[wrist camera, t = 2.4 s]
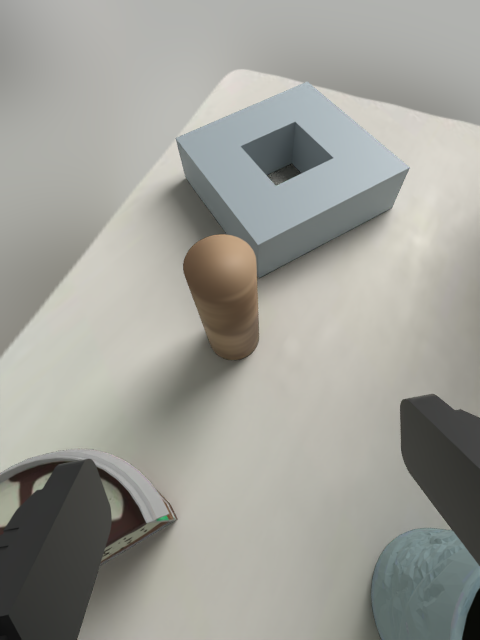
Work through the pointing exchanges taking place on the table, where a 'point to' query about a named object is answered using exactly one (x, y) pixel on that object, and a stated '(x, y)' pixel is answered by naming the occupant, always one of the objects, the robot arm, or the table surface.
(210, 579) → the table surface
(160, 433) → the table surface
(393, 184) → the socket block
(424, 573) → the teal plant pot
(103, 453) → the food container
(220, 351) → the peg
